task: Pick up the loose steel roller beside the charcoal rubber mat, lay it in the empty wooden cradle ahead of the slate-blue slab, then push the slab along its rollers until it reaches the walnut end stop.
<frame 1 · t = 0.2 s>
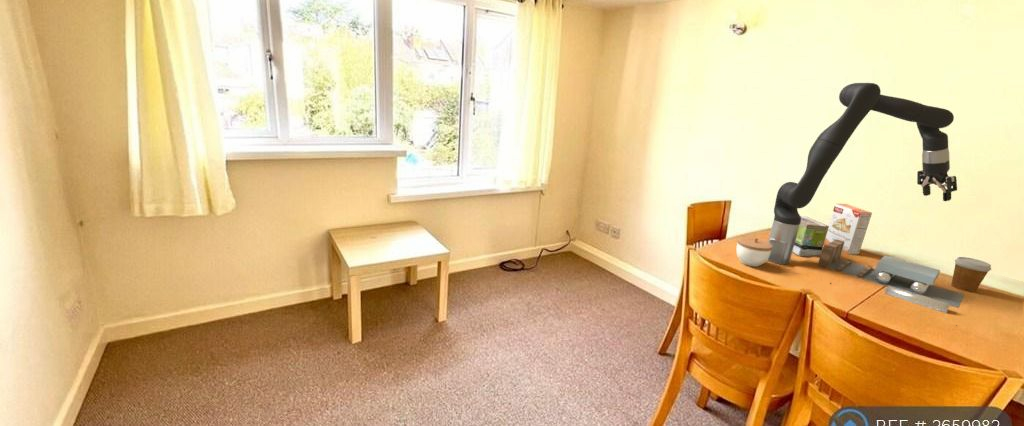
hand: (936, 197, 169), 31 cm above the table, tool tilted 20°, fingers open, 8 cm apart
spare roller: (914, 304, 146), on the table
bed rollers: (902, 283, 160), resting on mat
wooden stops: (853, 271, 172), on the table
tea box: (798, 251, 192), on the table
cracker box: (839, 251, 196), on the table
slab: (907, 269, 159), point 7 cm above the table, slide at 0.0 cm
disposable coffee cup: (961, 290, 160), on the table
lidded bowl: (750, 263, 174), on the table
mat: (891, 282, 163), on the table
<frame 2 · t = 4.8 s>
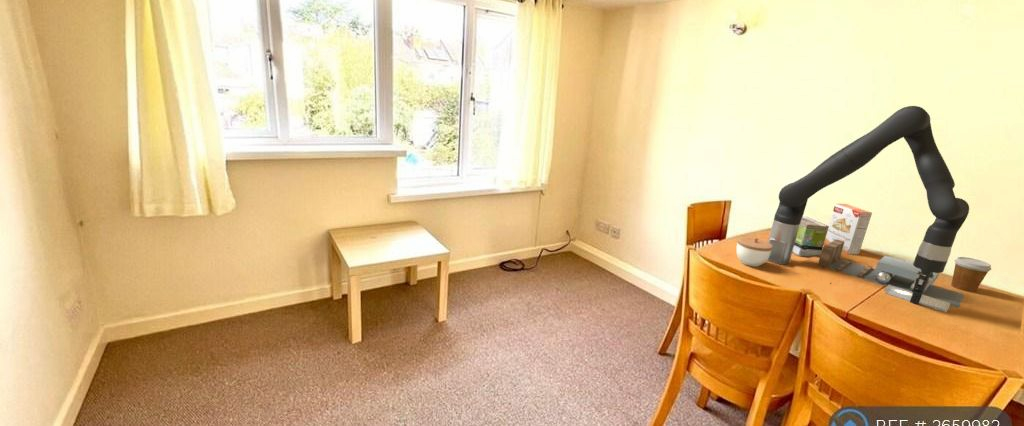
hand: (915, 301, 146), 1 cm above the table, tool pointing down, fingers closed on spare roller, 4 cm apart
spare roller: (914, 303, 147), on the table, tilted 12°, touching gripper
everything else where it was.
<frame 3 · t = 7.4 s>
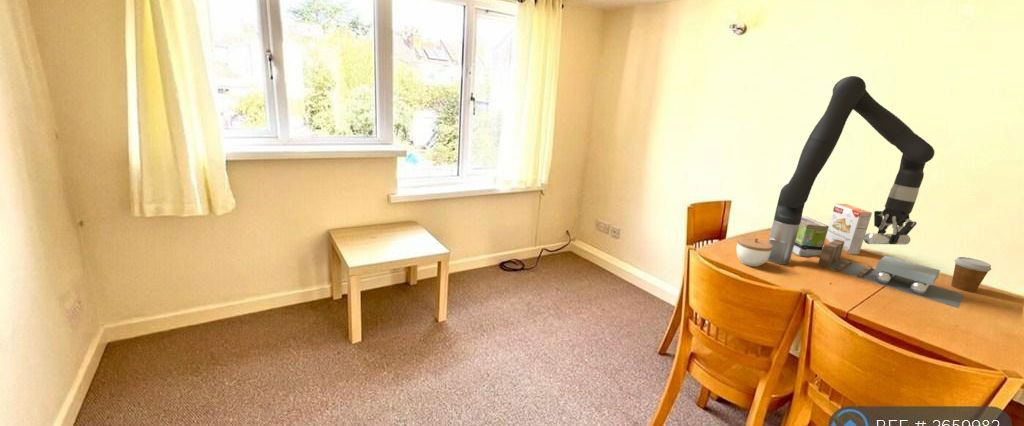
hand: (885, 241, 158), 17 cm above the table, tool pointing down, fingers closed on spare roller, 4 cm apart
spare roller: (884, 243, 158), point 16 cm above the table, tilted 13°, touching gripper
everything else where it was.
when the fingers open (3 cm above the table, at t = 10.5 s): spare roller stays where it is, resting on mat.
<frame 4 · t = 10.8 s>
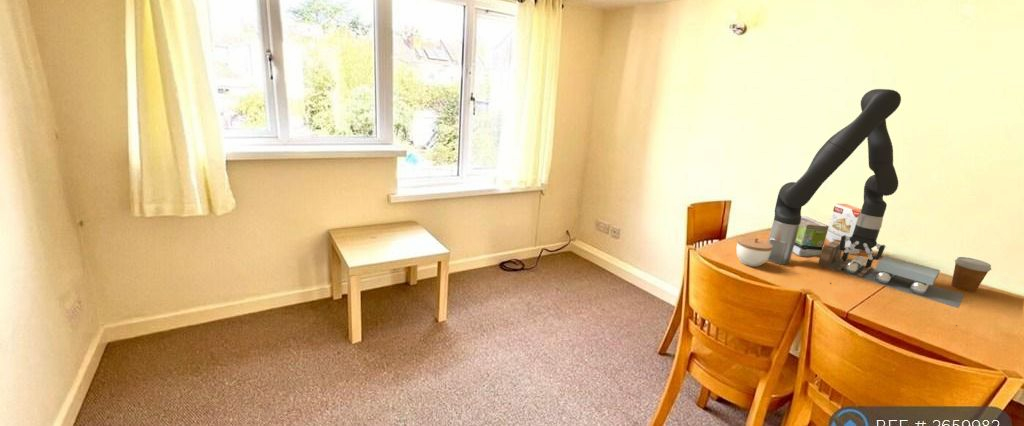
hand: (855, 264, 171), 3 cm above the table, tool pointing down, fingers open, 6 cm apart
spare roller: (852, 268, 172), point 1 cm above the table, tilted 12°, touching mat
everything else where it was.
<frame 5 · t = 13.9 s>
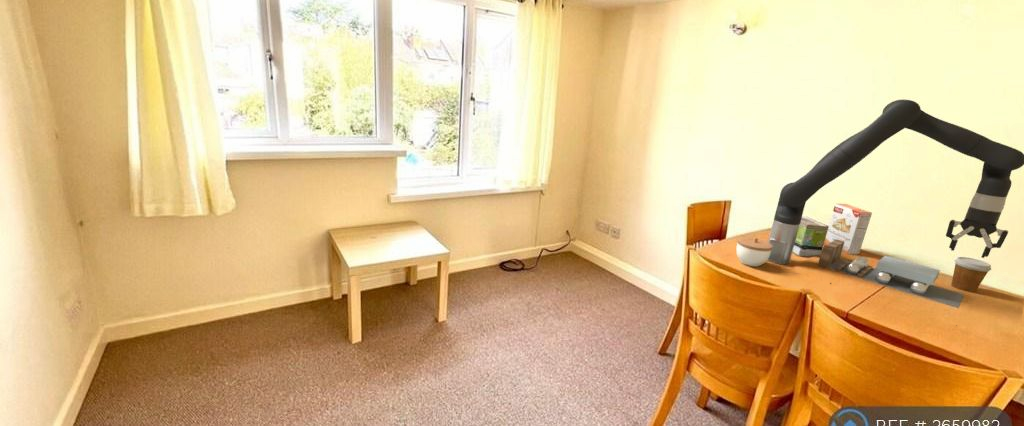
hand: (967, 253, 146), 18 cm above the table, tool pointing down, fingers open, 7 cm apart
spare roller: (852, 268, 172), point 1 cm above the table, tilted 28°, touching mat
everything else where it was.
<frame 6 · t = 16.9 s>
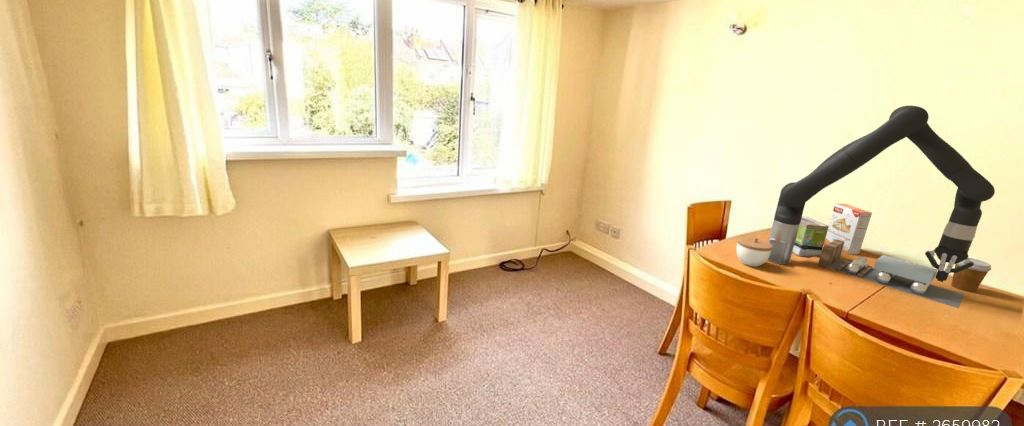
hand: (940, 280, 152), 6 cm above the table, tool pointing down, fingers closed
slab: (904, 268, 159), point 7 cm above the table, slide at 0.8 cm, touching gripper
everything else where it was.
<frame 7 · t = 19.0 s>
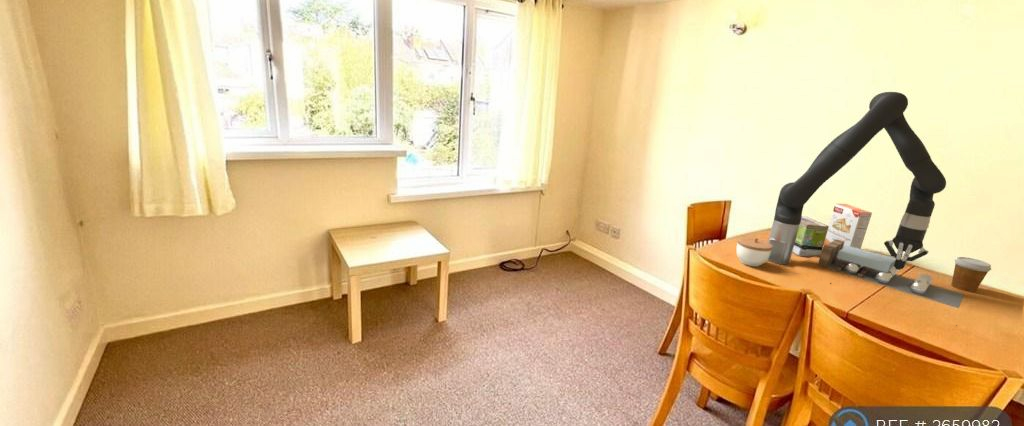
hand: (898, 268, 161), 6 cm above the table, tool pointing down, fingers closed
slab: (866, 258, 168), point 7 cm above the table, slide at 12.4 cm, touching gripper
everything else where it was.
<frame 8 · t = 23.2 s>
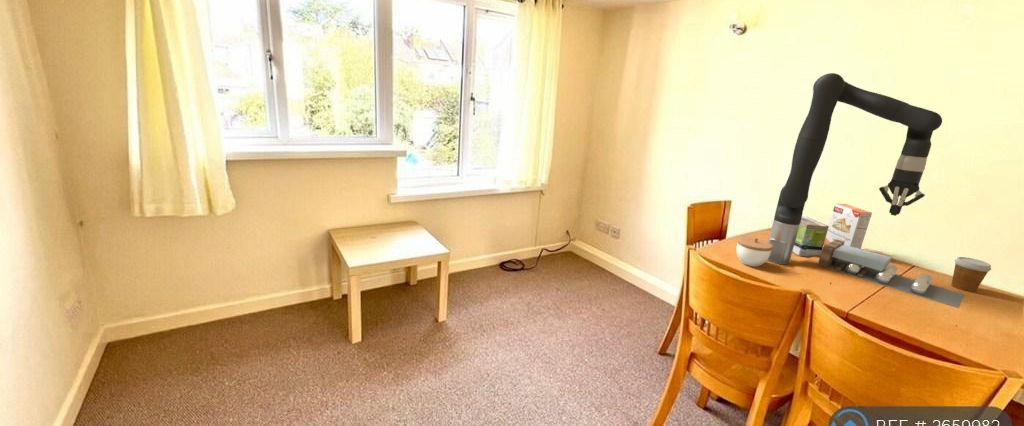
hand: (893, 215, 155), 27 cm above the table, tool pointing down, fingers closed
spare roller: (852, 268, 172), point 1 cm above the table, tilted 30°, touching mat
slab: (861, 256, 169), point 7 cm above the table, slide at 14.0 cm
everything else where it was.
at the end: slab slide at 14.0 cm; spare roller inside the target area (0.4 cm from its centre), point 1.2 cm above the table; the gripper is holding nothing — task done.
